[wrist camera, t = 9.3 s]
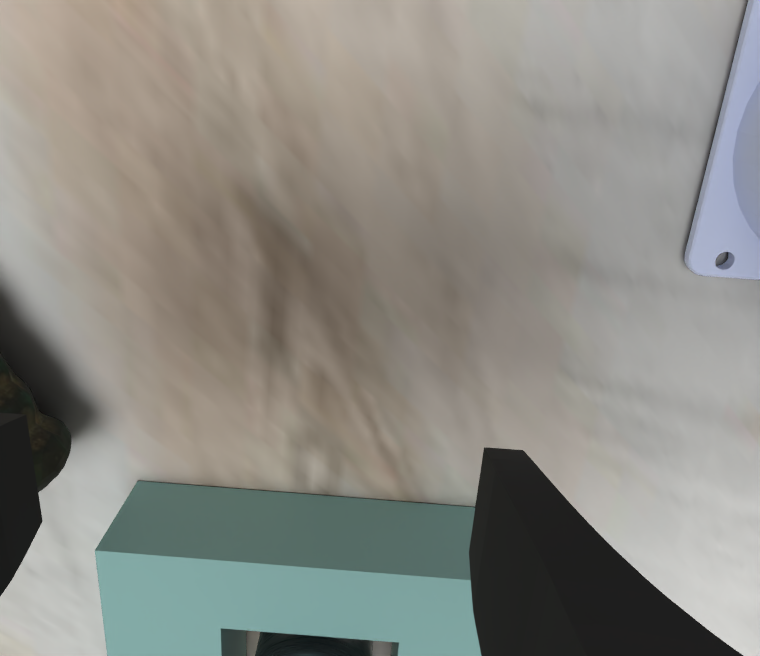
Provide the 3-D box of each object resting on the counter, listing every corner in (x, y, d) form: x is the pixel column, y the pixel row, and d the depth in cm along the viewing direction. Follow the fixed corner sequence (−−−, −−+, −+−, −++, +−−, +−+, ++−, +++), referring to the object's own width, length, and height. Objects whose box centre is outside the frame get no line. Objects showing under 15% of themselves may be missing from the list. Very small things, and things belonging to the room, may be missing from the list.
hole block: (513, 510, 23) (530, 585, 20) (474, 731, 28) (483, 822, 24) (137, 480, 23) (94, 550, 20) (156, 705, 28) (123, 792, 24)
